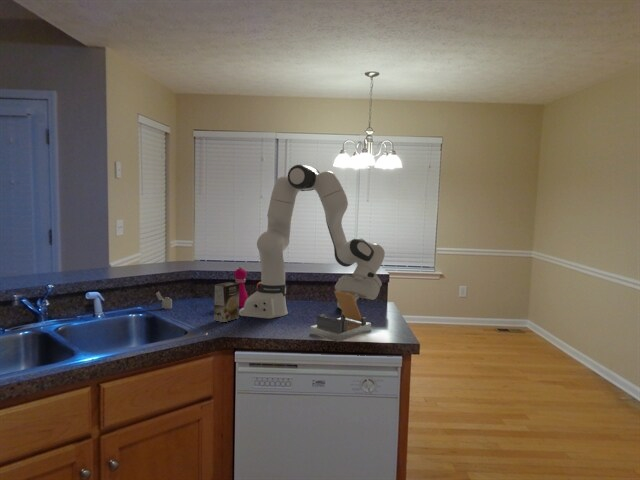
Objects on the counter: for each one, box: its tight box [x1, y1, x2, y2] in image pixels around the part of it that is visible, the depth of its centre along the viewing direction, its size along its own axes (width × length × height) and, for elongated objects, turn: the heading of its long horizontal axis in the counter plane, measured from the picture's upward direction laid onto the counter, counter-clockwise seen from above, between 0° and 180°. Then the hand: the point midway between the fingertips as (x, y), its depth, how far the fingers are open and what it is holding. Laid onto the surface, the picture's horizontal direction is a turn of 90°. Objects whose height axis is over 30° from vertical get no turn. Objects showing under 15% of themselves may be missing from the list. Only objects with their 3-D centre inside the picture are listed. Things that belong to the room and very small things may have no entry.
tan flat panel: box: [333, 290, 363, 322], centre depth 182 cm, size 15×9×1 cm
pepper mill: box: [234, 265, 249, 308], centre depth 216 cm, size 7×7×20 cm
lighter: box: [155, 291, 173, 310], centre depth 207 cm, size 7×2×8 cm, turn 95°
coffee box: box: [213, 281, 240, 323], centre depth 191 cm, size 9×6×16 cm
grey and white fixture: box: [309, 312, 372, 343], centre depth 179 cm, size 22×14×7 cm, turn 138°
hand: (348, 303), depth 181 cm, fingers closed, pressing on tan flat panel
